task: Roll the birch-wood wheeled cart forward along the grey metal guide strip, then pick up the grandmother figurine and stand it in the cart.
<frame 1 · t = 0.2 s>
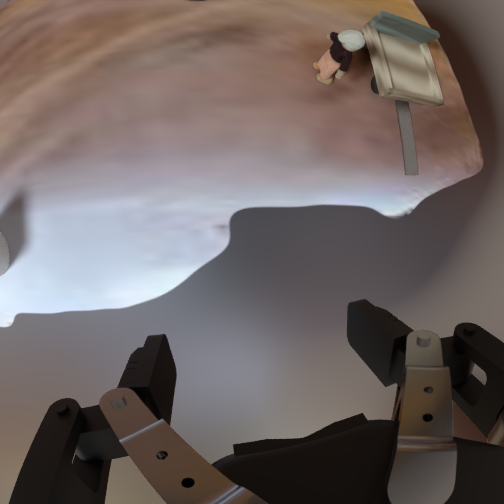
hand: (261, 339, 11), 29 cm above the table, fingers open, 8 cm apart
grandmother figurine: (321, 69, 36), on the table
cart: (408, 62, 32), point 5 cm above the table, slide at 0.0 cm
guide strip: (401, 104, 38), on the table
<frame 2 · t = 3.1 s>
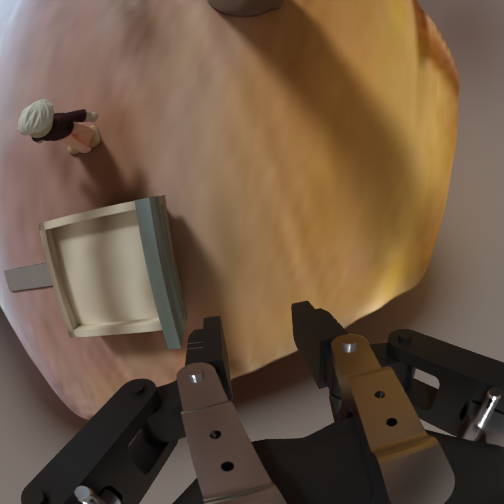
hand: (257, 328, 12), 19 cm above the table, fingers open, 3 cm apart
grandmother figurine: (88, 138, 26), on the table
cart: (106, 274, 25), point 5 cm above the table, slide at 0.0 cm
guide strip: (72, 269, 29), on the table
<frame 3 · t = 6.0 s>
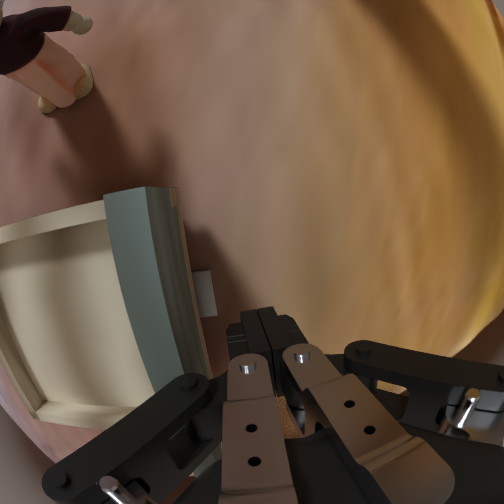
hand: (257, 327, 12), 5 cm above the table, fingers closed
grandmother figurine: (73, 86, 13), on the table
cart: (70, 339, 12), point 5 cm above the table, slide at 1.9 cm, touching gripper
guide strip: (44, 309, 16), on the table
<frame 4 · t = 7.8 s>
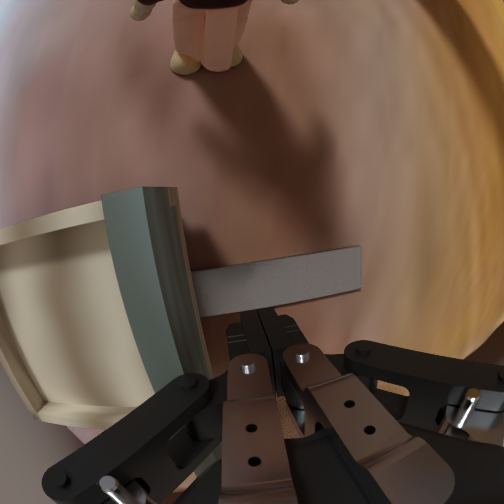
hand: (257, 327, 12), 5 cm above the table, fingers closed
grandmother figurine: (214, 54, 14), on the table
cart: (71, 339, 12), point 5 cm above the table, slide at 11.8 cm, touching gripper
guide strip: (164, 298, 17), on the table
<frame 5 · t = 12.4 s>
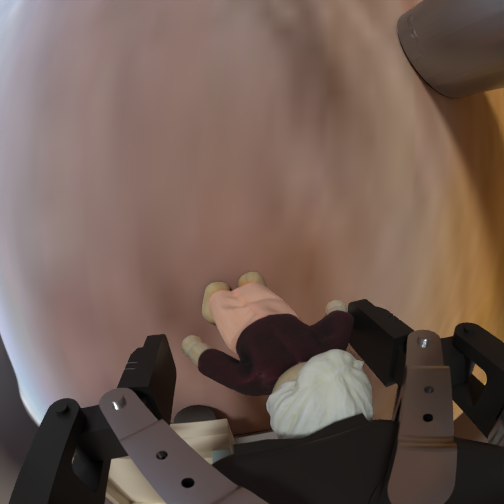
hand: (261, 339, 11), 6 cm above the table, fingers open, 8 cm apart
grandmother figurine: (242, 294, 18), on the table, touching gripper
cart: (163, 488, 16), point 5 cm above the table, slide at 11.8 cm
guide strip: (215, 447, 21), on the table
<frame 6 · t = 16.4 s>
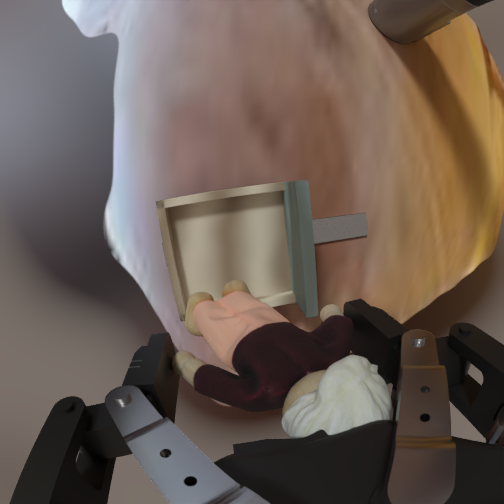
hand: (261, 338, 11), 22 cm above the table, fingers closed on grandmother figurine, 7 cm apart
grandmother figurine: (226, 304, 17), point 17 cm above the table, touching gripper
cart: (234, 252, 29), point 5 cm above the table, slide at 11.8 cm
guide strip: (271, 237, 34), on the table
when the fingers open (11 cm above the table, at t = 19.2 s): grandmother figurine drops 2 cm, resting on cart.
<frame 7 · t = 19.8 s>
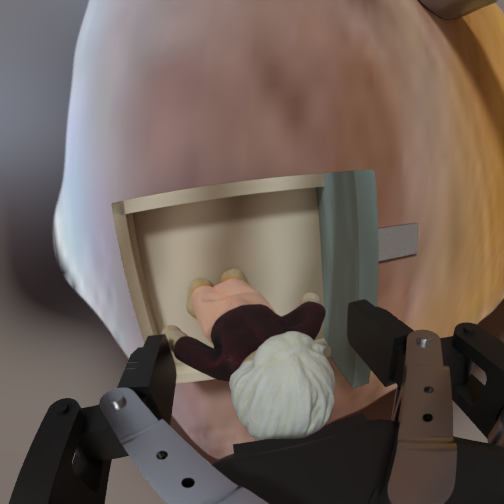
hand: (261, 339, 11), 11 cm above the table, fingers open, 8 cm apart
grandmother figurine: (225, 291, 18), point 4 cm above the table, touching cart, gripper
cart: (240, 287, 18), point 5 cm above the table, slide at 11.8 cm, touching grandmother figurine
guide strip: (293, 258, 23), on the table
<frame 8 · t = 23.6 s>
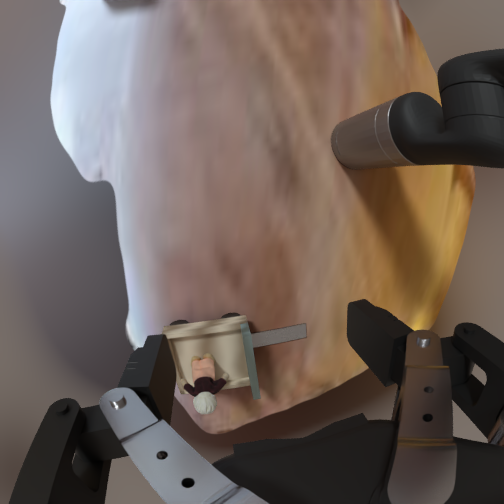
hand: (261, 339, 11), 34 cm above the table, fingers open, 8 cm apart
grandmother figurine: (205, 359, 45), point 4 cm above the table, touching cart
cart: (211, 360, 44), point 5 cm above the table, slide at 11.9 cm, touching grandmother figurine
guide strip: (237, 342, 49), on the table
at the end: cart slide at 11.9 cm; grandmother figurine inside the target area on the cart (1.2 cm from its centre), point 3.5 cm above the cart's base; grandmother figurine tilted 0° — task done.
